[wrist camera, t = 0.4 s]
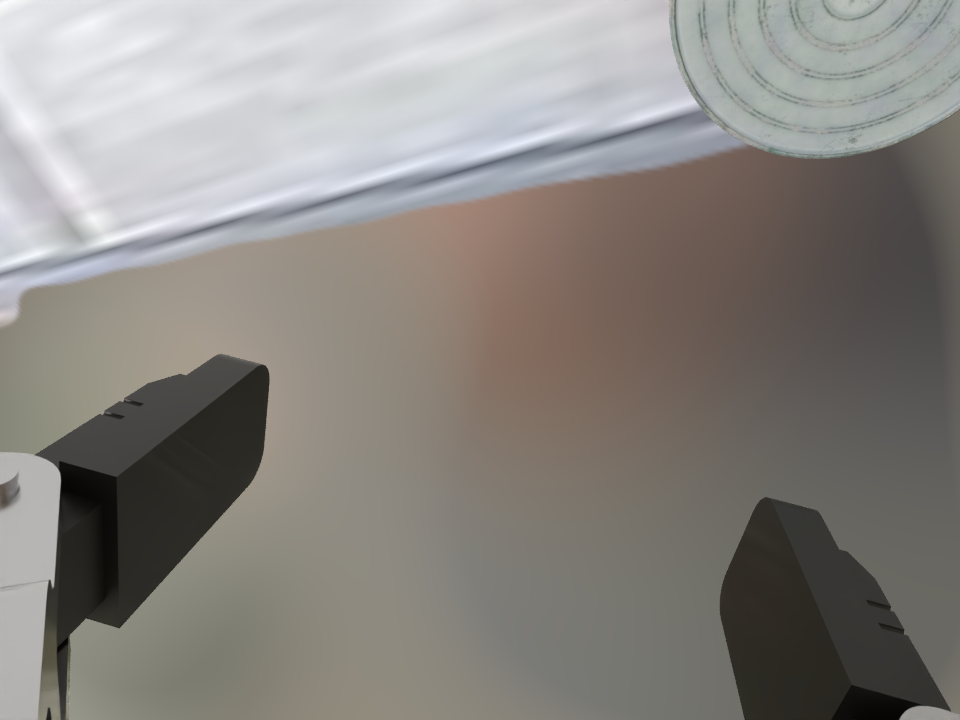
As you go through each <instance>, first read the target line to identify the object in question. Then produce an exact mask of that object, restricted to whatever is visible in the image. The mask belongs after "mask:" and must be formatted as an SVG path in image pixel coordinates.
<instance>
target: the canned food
mask: <svg viewBox="0 0 960 720" xmlns="http://www.w3.org/2000/svg"><path fill="white" fill-rule="evenodd" d="M669 21H670V31H671V40H672V44H673V49H674V54H675V57H676V61H677V64H678V67H679V70H680V72H681V74H682V77H683V79H684V81H685V83H686V85H687V87H688V89H689V91H690V92H691V94H692V96H693V97H694V99H695V100H696V101H697V103H698V104H699V105H700V107H701V108H702V109H703V111H704V112H705V113H706V114H707V115H708V116H709V117H710V118H711V119H712V120H713V121H714V122H715V123H716V124H718V125H719V126H720V127H721V128H722V129H723V130H725V131H726V132H728V133H729V134H731V135H732V136H734V137H735V138H737V139H739V140H741V141H743V142H745V143H746V144H748V145H751V146H753V147H756V148H758V149H761V150H764V151H768V152H770V153H774V154H778V155H783V156H789V157H796V158H807V159H826V158H838V157H846V156H852V155H858V154H862V153H867V152H871V151H875V150H878V149H881V148H884V147H887V146H891V145H894V144H896V143H899V142H901V141H903V140H906V139H908V138H911V137H913V136H915V135H917V134H919V133H921V132H923V131H925V130H927V129H929V128H931V127H933V126H935V125H936V124H938V123H940V122H941V121H943V120H945V119H946V118H948V117H950V116H951V115H952V114H954V113H956V112H957V111H959V110H960V0H669Z"/></svg>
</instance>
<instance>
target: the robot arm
mask: <svg viewBox="0 0 960 720" xmlns="http://www.w3.org/2000/svg"><path fill="white" fill-rule="evenodd" d="M268 392H269V372H268V368H267V367H266V366H265V365H262V364H258V363H254V362H251V361H247V360H243V359H239V358H235V357H231V356H228V355H223V354H219V355H216V356H215V357H213V358H212V359H210V360H209V361H207V362H206V363H204V364H203V365H201V366H200V367H198V368H197V369H195V370H194V371H192V372H191V373H189V374H188V375H182V374H179V375H175V376H172V377H168V378H165V379H161V380H158V381H155V382H151V383H148V384H146V385H145V386H143V387H142V388H140V389H138V390H137V391H135V392H134V393H132V394H130V395H129V396H127V397H126V398H124V402H118V403H116V404H115V405H113V406H112V407H110V408H108V409H107V410H105V412H104V414H103V415H101V414H99V415H97V416H96V417H94V418H92V419H91V420H89V421H88V422H86V423H85V424H83V425H81V426H80V427H78V428H77V429H75V430H73V431H72V432H70V433H69V434H67V435H66V436H64V437H63V438H61V439H59V440H58V441H56V442H55V443H53V444H51V445H50V446H48V447H47V448H45V449H43V450H42V451H40V452H39V453H37V454H36V455H31V454H25V453H15V452H14V453H13V452H0V720H69V719H68V718H69V688H70V657H71V646H70V634H71V633H72V632H73V631H74V630H75V629H76V628H77V627H78V626H79V625H80V624H81V623H82V622H83V621H84V620H85V619H86V618H87V619H90V620H94V621H97V622H100V623H103V624H107V625H110V626H114V627H117V628H120V627H121V626H122V625H123V624H124V623H125V622H126V620H127V619H128V618H129V617H130V616H131V615H132V614H133V613H134V612H135V611H136V609H137V608H138V607H139V606H140V605H141V604H142V603H143V602H144V601H145V600H146V598H147V597H148V596H149V595H150V594H151V593H152V592H153V591H154V590H155V589H156V587H157V586H158V585H159V584H160V583H161V582H162V581H163V580H164V579H165V578H166V576H167V575H168V574H169V573H170V572H171V571H172V570H173V569H174V568H175V566H176V565H177V564H178V563H179V562H180V561H181V560H182V559H183V557H185V555H186V554H187V553H188V552H189V551H190V550H191V549H192V548H193V547H194V545H195V544H196V543H197V542H198V541H199V540H200V539H201V537H203V536H204V534H205V533H206V532H207V531H208V530H209V529H210V528H211V527H212V526H213V524H214V523H215V522H216V521H217V520H218V519H219V518H220V517H221V516H222V514H223V513H224V512H225V511H226V510H227V509H228V508H229V507H230V506H231V505H232V503H233V502H234V501H235V500H236V499H237V498H238V497H239V496H240V495H241V493H242V492H243V491H244V490H245V489H246V488H247V487H248V486H249V485H250V483H251V482H252V480H253V479H254V477H255V475H256V472H257V471H258V468H259V466H260V463H261V459H262V455H263V451H264V440H265V429H266V416H267V404H268ZM890 608H891V606H890V604H889V602H888V600H887V599H886V597H885V595H884V593H883V592H882V590H881V588H880V586H879V585H878V583H877V581H876V580H875V578H874V577H873V576H872V575H871V574H870V573H869V572H868V571H867V570H866V569H865V568H864V567H862V565H860V564H859V563H858V562H857V561H856V560H855V559H854V558H853V557H852V556H851V555H850V554H849V553H848V552H846V551H842V550H839V548H838V546H837V545H836V543H835V541H834V539H833V537H832V535H831V533H830V531H829V530H828V528H827V526H826V524H825V522H824V520H823V518H822V517H821V515H820V513H819V512H818V511H816V510H814V509H810V508H806V507H802V506H799V505H795V504H791V503H787V502H783V501H779V500H775V499H772V498H768V497H765V498H763V499H761V500H760V501H759V503H758V504H757V505H756V507H755V509H754V511H753V513H752V515H751V518H750V520H749V522H748V525H747V527H746V529H745V531H744V534H743V536H742V538H741V540H740V543H739V545H738V547H737V549H736V552H735V554H734V556H733V559H732V561H731V563H730V565H729V568H728V570H727V572H726V575H725V578H724V581H723V584H722V589H721V595H720V616H721V621H722V625H723V629H724V633H725V637H726V642H727V646H728V650H729V654H730V659H731V663H732V667H733V671H734V676H735V680H736V684H737V689H738V693H739V697H740V701H741V705H742V710H743V714H744V718H745V720H960V715H957V714H955V713H953V712H951V710H950V708H949V706H948V705H947V703H946V701H945V699H944V698H943V696H942V694H941V692H940V691H939V689H938V687H937V686H936V684H935V682H934V680H933V678H932V677H931V675H930V673H929V672H928V670H927V668H926V666H925V665H924V663H923V661H922V659H921V658H920V656H919V654H918V652H917V651H916V649H915V648H914V646H913V644H912V642H911V640H910V639H909V637H908V636H907V635H904V628H903V626H902V625H901V623H900V621H899V620H898V618H897V616H896V614H895V613H894V612H892V611H890Z"/></svg>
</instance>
